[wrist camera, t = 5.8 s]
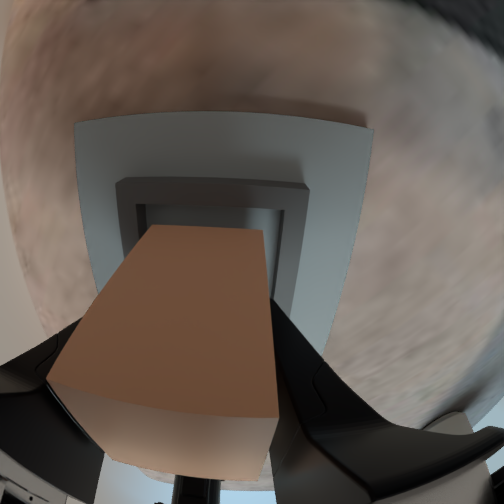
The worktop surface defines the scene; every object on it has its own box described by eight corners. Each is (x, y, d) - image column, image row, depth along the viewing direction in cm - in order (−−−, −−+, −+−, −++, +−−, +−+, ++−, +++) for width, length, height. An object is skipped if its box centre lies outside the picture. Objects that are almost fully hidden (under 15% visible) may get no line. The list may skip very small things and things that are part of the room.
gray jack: (319, 350, 15) (323, 371, 14) (117, 336, 15) (107, 354, 13) (367, 128, 10) (385, 131, 8) (81, 121, 9) (60, 124, 8)
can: (440, 411, 21) (471, 493, 11) (472, 404, 22) (501, 472, 12) (402, 442, 25) (422, 516, 14) (437, 434, 26) (458, 498, 15)
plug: (255, 317, 12) (257, 480, 5) (162, 311, 11) (112, 459, 5) (262, 229, 10) (279, 417, 4) (152, 224, 10) (45, 378, 3)
